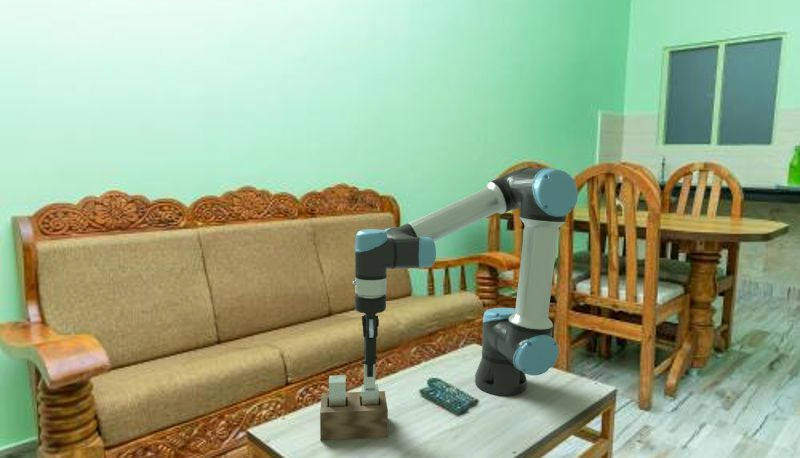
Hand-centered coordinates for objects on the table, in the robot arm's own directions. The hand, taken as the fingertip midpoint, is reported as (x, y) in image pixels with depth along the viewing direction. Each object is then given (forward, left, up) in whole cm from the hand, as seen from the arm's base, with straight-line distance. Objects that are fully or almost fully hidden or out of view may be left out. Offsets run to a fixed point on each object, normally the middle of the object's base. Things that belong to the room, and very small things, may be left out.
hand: (369, 386), depth 128 cm
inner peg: (0, 0, -7) cm, 7 cm away
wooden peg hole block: (+4, 0, -11) cm, 11 cm away
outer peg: (+8, 0, -4) cm, 9 cm away
